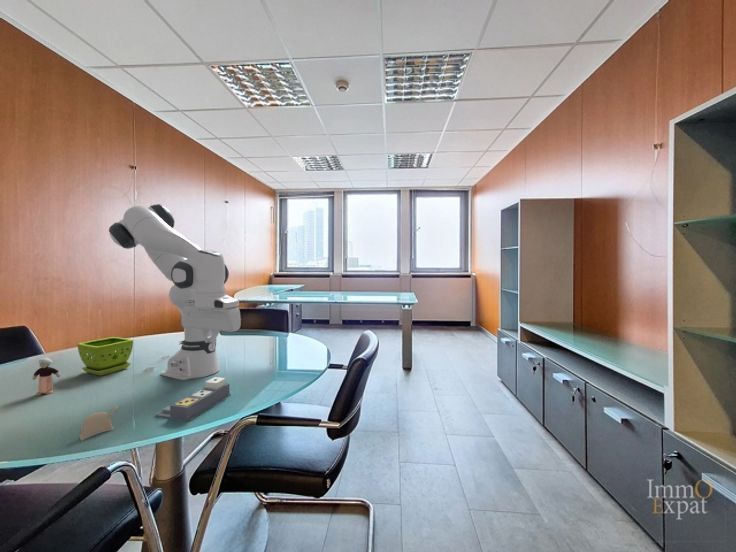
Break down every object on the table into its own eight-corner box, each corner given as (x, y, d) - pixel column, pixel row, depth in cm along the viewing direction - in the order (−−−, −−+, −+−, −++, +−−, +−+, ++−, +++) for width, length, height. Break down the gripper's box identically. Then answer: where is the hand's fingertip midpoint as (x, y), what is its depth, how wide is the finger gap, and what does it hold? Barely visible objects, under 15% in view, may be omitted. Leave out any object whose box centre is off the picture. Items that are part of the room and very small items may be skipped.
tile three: (175, 415, 90) (174, 403, 90) (187, 408, 94) (186, 397, 94) (187, 417, 89) (187, 405, 89) (199, 410, 93) (198, 398, 93)
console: (155, 416, 91) (155, 403, 91) (201, 391, 108) (201, 380, 108) (188, 421, 88) (188, 407, 88) (230, 394, 105) (230, 383, 105)
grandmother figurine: (28, 397, 103) (26, 360, 103) (34, 393, 107) (32, 357, 106) (59, 393, 107) (57, 357, 106) (63, 388, 110) (62, 354, 110)
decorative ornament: (77, 435, 81) (76, 416, 81) (117, 422, 87) (116, 404, 87) (80, 441, 78) (79, 421, 78) (121, 427, 85) (120, 408, 85)
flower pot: (97, 379, 120) (95, 347, 119) (77, 374, 125) (75, 343, 124) (135, 367, 133) (134, 338, 132) (115, 363, 138) (114, 335, 137)
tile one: (205, 392, 102) (205, 381, 101) (215, 386, 106) (214, 376, 106) (216, 393, 101) (216, 382, 100) (225, 388, 105) (225, 377, 105)
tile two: (191, 406, 96) (190, 394, 96) (201, 400, 100) (201, 389, 100) (203, 407, 95) (202, 396, 95) (213, 401, 99) (213, 390, 99)
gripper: (175, 300, 98) (176, 342, 99) (230, 303, 93) (230, 348, 94) (191, 297, 104) (192, 337, 105) (243, 301, 99) (243, 342, 100)
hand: (210, 342), depth 99 cm, fingers closed
